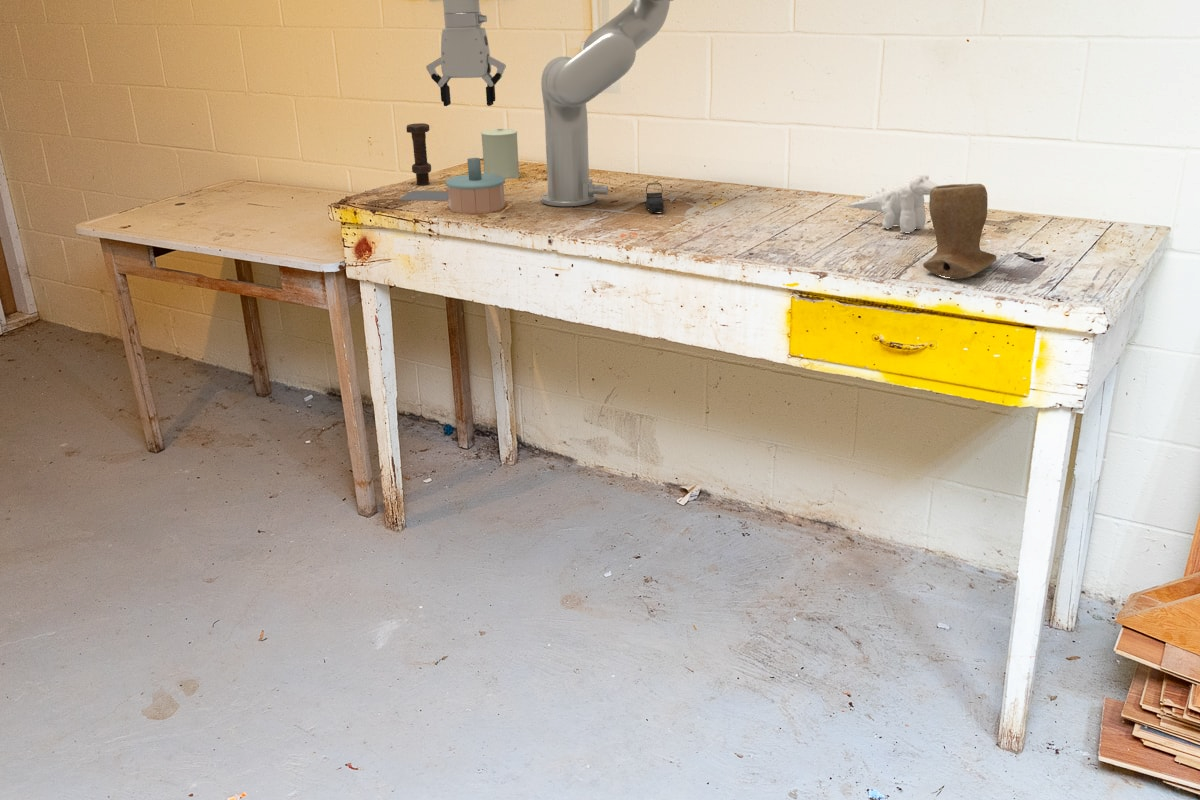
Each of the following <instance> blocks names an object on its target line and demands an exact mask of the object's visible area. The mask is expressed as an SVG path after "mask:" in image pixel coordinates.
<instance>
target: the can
mask: <svg viewBox="0 0 1200 800" xmlns="http://www.w3.org/2000/svg"><path fill="white" fill-rule="evenodd" d="M480 134H481V142H482V146H481V147H482V159H483V174H495V175H500V176H503V177H504V178H505V180H506V179H519V178H520V177H521V175H520V168H519V167H520V165H519V150H518V149H519V148H518V147H519V146H518V131H517V130H516V129H510V128H508V129H507V128H495V129H487V130H484V131H481V132H480Z"/></svg>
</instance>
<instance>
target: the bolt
mask: <svg viewBox="0 0 1200 800" xmlns="http://www.w3.org/2000/svg"><path fill="white" fill-rule="evenodd" d="M405 128H406V133H408V134H411V139H412V146H413V147H412V149H413V158H414V159H413V160H414V163H413V164H412V166H411V172H412V173H413V174H415V178H416V179H415V181H416V185H417V186H429V185H430V177H429V176H430V175H429V173H431V172H432V165H431V163H430V162H428V153H427V141H426V137H427V136H426V133H428V132H430V125H429V124H428V123H425V122H424V123H421V122H420V123H411V124H407V125H406V127H405Z"/></svg>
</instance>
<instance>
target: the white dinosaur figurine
mask: <svg viewBox="0 0 1200 800" xmlns="http://www.w3.org/2000/svg"><path fill="white" fill-rule="evenodd" d="M929 179H930V177H929V175H927V174H919V175H916V176H914V177H912V178H910V179H909V181H907V182H905V183H903V184H900V185H897V186H895V187H893V188H892V189H888V190H886V189H885V188H881V192H880V191H879V190H876V194H875V195H874V194H873V193H871V194H870V196H869V197H868V196H865V197H864V199H861V198H857V201H856V202H853V203H850V204H848V205H844V207H845V208H849V209H850V208H851V209H859V210H866V211H877V212H880V213H882V214H883V221H882V223H881V224H882V226H881V227H884V228H891V229H892V228H893V227H894V226H893V225H899V228H900V231H902V232H901V233H903V232H912V233H913V232H914V231H915V228H916V229H920V230H922V229H923V228H924V227H925V225H926V221H927V220H926V219H927V218H926V217H927V216H926V215H927V214H926V209H925V196H930V191H931V189H932V188H934V187H936V186H940V184H939V185H938V184H937V183H935V182H933V181H931V180H929ZM884 228H883V229H884ZM921 228H922V229H921Z"/></svg>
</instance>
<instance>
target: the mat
mask: <svg viewBox="0 0 1200 800" xmlns="http://www.w3.org/2000/svg"><path fill="white" fill-rule="evenodd" d="M397 201H422V202H423V201H431V202H435V201H436V202H447V201H448V202H449V199H448V190H447V191H445V190H411V191H409V192H408V193H406V194H405V195H403V196H401V197H400V198H399V199H397Z"/></svg>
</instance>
